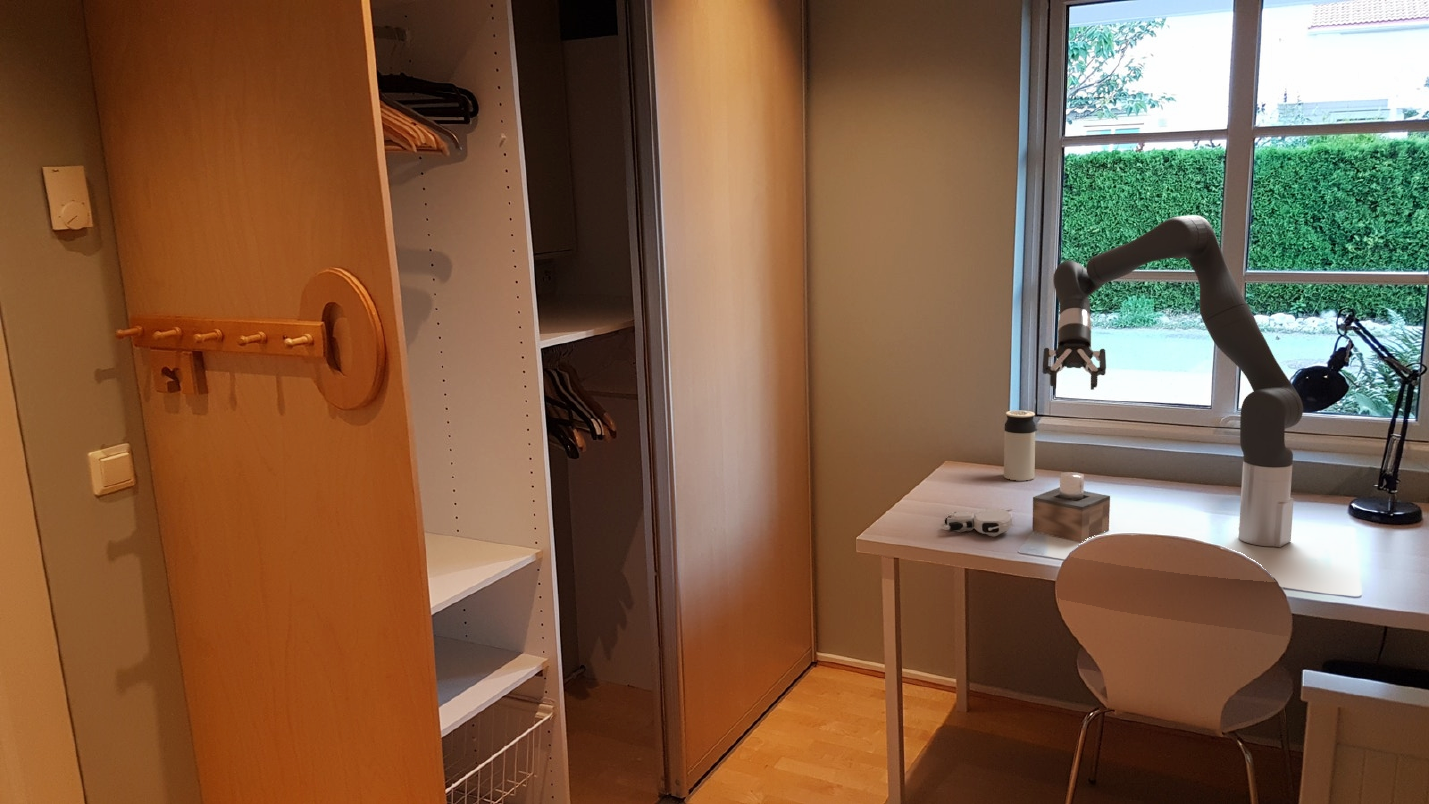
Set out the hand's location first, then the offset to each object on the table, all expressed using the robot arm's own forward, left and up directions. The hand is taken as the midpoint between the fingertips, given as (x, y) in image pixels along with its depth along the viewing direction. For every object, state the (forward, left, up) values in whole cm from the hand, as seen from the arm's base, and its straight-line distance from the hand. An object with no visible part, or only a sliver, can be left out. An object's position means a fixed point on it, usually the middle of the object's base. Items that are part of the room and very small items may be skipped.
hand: (1073, 387), depth 236 cm
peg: (-6, +11, -26) cm, 29 cm away
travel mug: (+28, -22, -31) cm, 47 cm away
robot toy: (+9, +25, -31) cm, 41 cm away
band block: (-6, +11, -31) cm, 33 cm away
